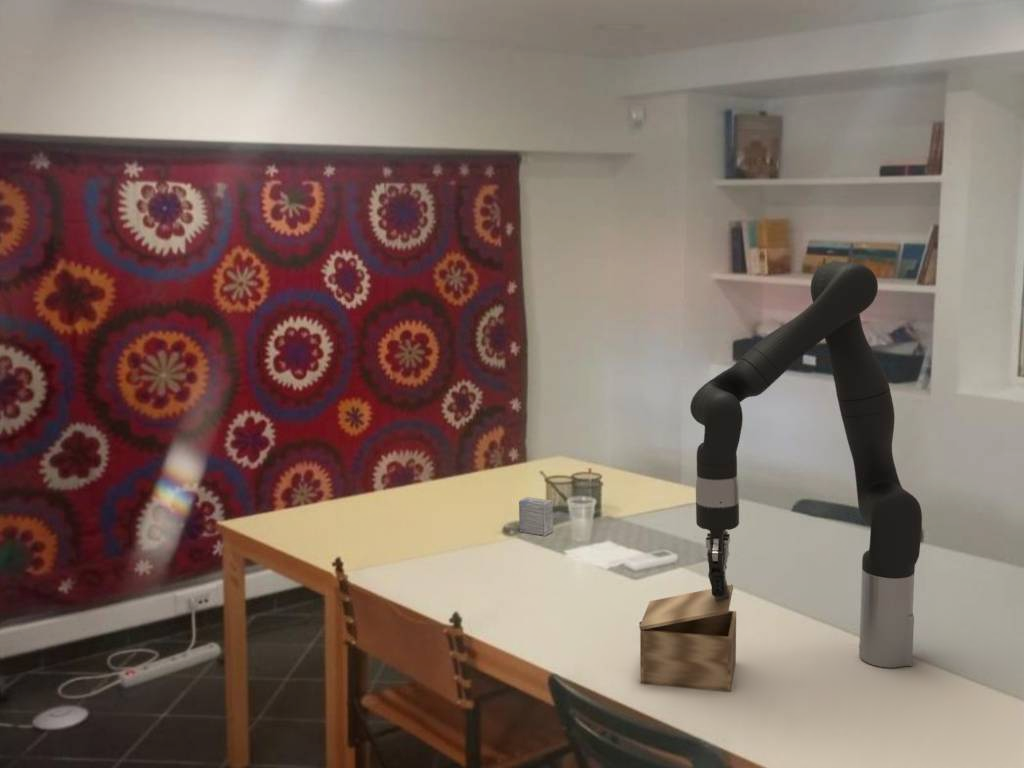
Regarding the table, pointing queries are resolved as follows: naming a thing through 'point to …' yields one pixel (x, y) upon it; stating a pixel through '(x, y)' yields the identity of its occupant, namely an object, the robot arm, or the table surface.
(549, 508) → the medicine box
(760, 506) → the table surface
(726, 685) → the wooden box
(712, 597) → the lid flap
